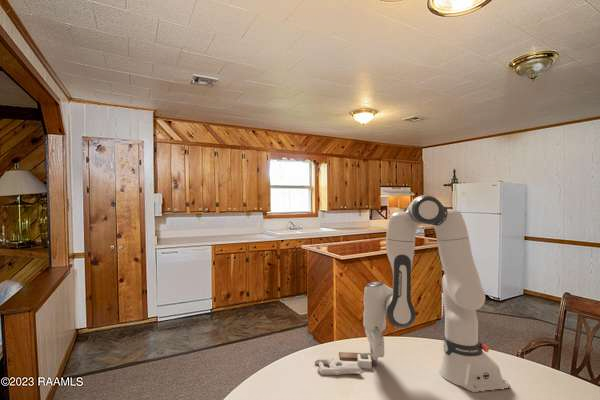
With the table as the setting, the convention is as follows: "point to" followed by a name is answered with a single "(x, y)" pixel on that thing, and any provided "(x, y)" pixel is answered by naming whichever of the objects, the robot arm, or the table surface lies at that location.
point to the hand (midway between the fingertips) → (373, 356)
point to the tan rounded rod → (374, 362)
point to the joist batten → (350, 355)
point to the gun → (337, 367)
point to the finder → (364, 361)
